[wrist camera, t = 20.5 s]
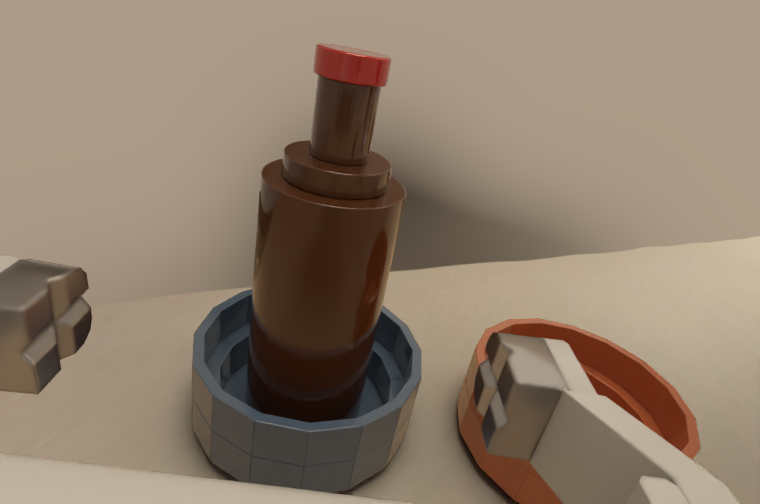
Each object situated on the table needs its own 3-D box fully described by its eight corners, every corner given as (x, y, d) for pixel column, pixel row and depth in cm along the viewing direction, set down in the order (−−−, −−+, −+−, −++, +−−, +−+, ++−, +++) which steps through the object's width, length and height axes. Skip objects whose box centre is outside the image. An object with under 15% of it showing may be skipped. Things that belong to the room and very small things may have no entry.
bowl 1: (329, 325, 32) (338, 268, 30) (444, 437, 25) (466, 373, 23) (160, 379, 25) (158, 310, 23) (255, 554, 18) (264, 476, 16)
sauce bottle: (319, 352, 29) (367, 45, 21) (381, 418, 25) (467, 73, 17) (224, 386, 25) (240, 27, 17) (281, 470, 21) (334, 57, 13)
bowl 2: (525, 355, 33) (546, 302, 31) (687, 470, 26) (728, 411, 24) (415, 414, 26) (434, 351, 24) (596, 592, 19) (643, 524, 17)
